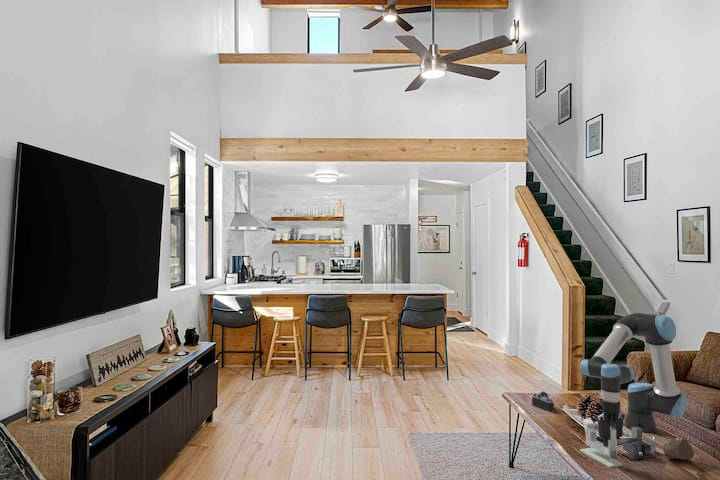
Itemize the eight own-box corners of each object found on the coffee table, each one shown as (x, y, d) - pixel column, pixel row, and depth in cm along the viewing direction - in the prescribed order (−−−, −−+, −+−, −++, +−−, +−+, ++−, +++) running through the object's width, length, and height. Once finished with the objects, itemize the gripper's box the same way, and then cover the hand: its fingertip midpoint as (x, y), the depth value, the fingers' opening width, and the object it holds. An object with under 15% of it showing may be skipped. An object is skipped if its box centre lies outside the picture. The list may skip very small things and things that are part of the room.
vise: (648, 448, 227) (647, 422, 227) (662, 455, 219) (662, 429, 219) (606, 453, 220) (606, 427, 220) (620, 461, 212) (620, 434, 213)
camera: (561, 411, 278) (561, 394, 279) (550, 413, 275) (550, 396, 275) (540, 403, 292) (540, 387, 292) (530, 405, 289) (530, 389, 289)
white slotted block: (590, 443, 223) (590, 417, 223) (616, 456, 209) (616, 429, 209) (585, 444, 222) (585, 418, 223) (610, 457, 208) (610, 430, 208)
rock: (679, 467, 207) (679, 443, 207) (655, 457, 216) (655, 435, 216) (695, 461, 213) (695, 438, 213) (671, 452, 222) (671, 431, 222)
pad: (592, 449, 225) (592, 447, 225) (622, 465, 208) (622, 464, 208) (579, 450, 223) (579, 449, 223) (609, 467, 206) (609, 465, 206)
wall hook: (613, 442, 232) (608, 421, 233) (590, 444, 234) (586, 424, 235) (608, 435, 240) (603, 416, 241) (586, 438, 242) (582, 418, 243)
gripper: (618, 396, 216) (618, 448, 216) (589, 398, 212) (589, 452, 211) (632, 401, 209) (632, 455, 208) (602, 404, 205) (602, 459, 204)
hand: (610, 453), depth 210 cm, fingers closed on white slotted block, 3 cm apart
